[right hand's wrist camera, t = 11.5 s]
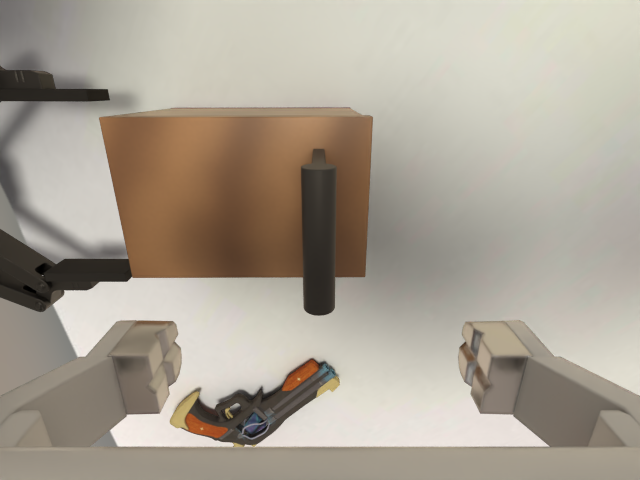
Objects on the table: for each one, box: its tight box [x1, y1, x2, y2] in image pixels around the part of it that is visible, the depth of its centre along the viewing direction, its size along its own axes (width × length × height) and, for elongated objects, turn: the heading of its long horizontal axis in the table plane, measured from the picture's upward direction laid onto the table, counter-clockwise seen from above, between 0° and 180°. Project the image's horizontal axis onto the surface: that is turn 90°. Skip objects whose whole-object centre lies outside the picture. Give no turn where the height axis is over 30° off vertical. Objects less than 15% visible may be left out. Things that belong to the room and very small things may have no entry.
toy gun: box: [170, 360, 340, 447], centre depth 44 cm, size 3×19×10 cm
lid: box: [99, 115, 373, 316], centre depth 21 cm, size 16×10×8 cm, turn 90°
